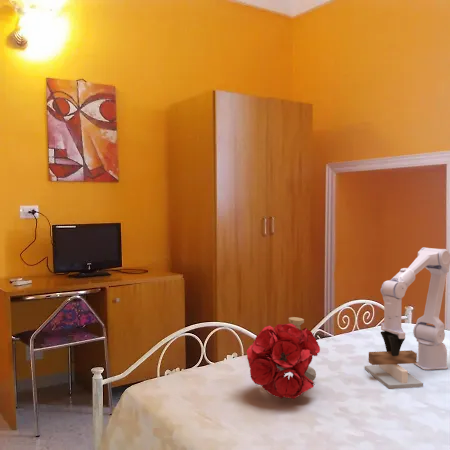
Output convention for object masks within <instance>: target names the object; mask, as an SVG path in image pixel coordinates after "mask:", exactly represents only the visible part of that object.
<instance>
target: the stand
mask: <svg viewBox="0 0 450 450" xmlns="http://www.w3.org/2000/svg"><path fill="white" fill-rule="evenodd" d="M364 370H365V371H366V372H368V373H369V374H370V375H372V377H374V378H375V379H376V380H377V381H378V382H380V383H381V384H382V385H383V386H385V387H386V388H387V389H389V390H392V389H393V390H394V389H408V388H410V389H411V388H424V382H422V381H421V380H419V379H418V378H416V377H415V376H414V375H412V374H410V373H409V372H408V370H406V369H405V368H404V367H402V366H401V365H400V364H386V365H372V364H370V365H364Z"/></svg>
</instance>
